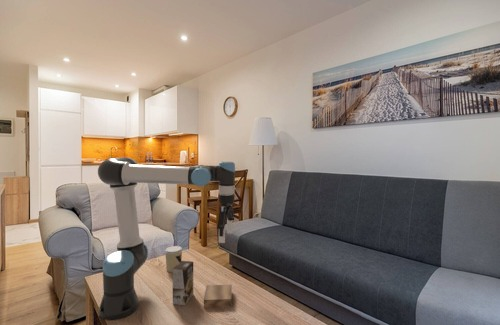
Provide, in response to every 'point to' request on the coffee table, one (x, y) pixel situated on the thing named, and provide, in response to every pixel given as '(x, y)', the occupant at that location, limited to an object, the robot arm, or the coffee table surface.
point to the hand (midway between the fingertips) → (225, 237)
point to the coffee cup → (173, 257)
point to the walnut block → (217, 296)
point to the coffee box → (182, 282)
